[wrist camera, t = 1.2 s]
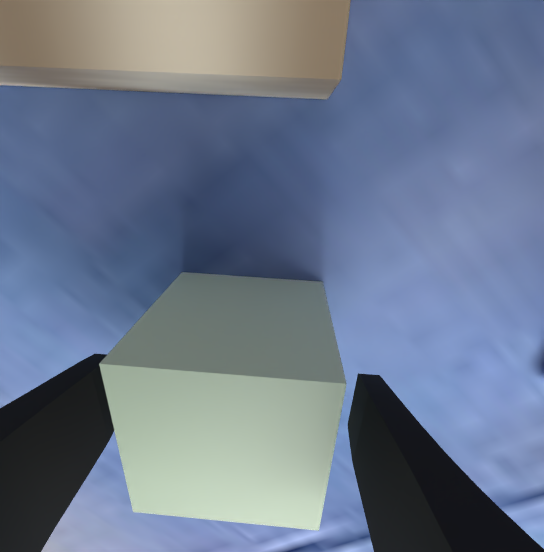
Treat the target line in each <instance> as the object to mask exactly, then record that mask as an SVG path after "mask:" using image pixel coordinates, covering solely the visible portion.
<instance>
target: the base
mask: <svg viewBox="0 0 544 552" xmlns="http://www.w3.org/2000/svg"><path fill="white" fill-rule="evenodd" d="M350 1H351V0H0V85H8V86H31V87H54V88H77V89H100V90H123V91H146V92H169V93H191V94H214V95H237V96H260V97H283V98H306V99H328V98H329V96H330V95H331V94H332V92H333V91H334V89H335V88H336V86H337V85H338V84H339V82H340V81H341V78H342V69H343V61H344V52H345V44H346V35H347V27H348V18H349V10H350Z"/></svg>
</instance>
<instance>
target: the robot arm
mask: <svg viewBox="0 0 544 552" xmlns="http://www.w3.org/2000/svg"><path fill="white" fill-rule="evenodd" d="M106 356H107V355H104V354H94V355H92V356H90V357H88V358H86V359H84V360H82V361H81V362H79V363H77V364H75V365H74V366H72V367H70V368H68V369H67V370H65V371H63V372H62V373H60V374H58V375H57V376H55V377H53V378H52V379H50V380H48V381H46V382H45V383H43V384H41V385H40V386H38V387H36V388H35V389H33V390H31V391H29V392H28V393H26V394H24V395H23V396H21V397H19V398H17V399H16V400H14V401H12V402H11V403H9V404H7V405H5V406H4V407H2V408H0V552H41V551H42V549H43V547H44V545H45V544H46V542H47V540H48V539H49V537H50V535H51V534H52V532H53V530H54V528H55V527H56V525H57V524H58V522H59V521H60V519H61V517H62V516H63V514H64V513H65V511H66V509H67V508H68V506H69V505H70V503H71V501H72V500H73V498H74V497H75V495H76V493H77V492H78V490H79V489H80V487H81V485H82V484H83V482H84V481H85V479H86V477H87V476H88V474H89V473H90V471H91V469H92V468H93V466H94V465H95V463H96V461H97V460H98V458H99V457H100V455H101V453H102V452H103V450H104V448H105V447H106V445H107V443H108V442H109V440H110V438H111V436H112V434H113V432H114V426H113V422H112V418H111V413H110V409H109V405H108V400H107V396H106V392H105V387H104V383H103V379H102V374H101V370H100V366H99V363H100V362H101V361H102V360H103V359H104V358H105V357H106ZM348 432H349V440H350V447H351V454H352V461H353V466H354V470H355V475H356V479H357V483H358V487H359V491H360V496H361V500H362V504H363V508H364V512H365V516H366V520H367V524H368V528H369V533H370V537H371V541H372V545H373V549H374V552H544V549H543V548H542V547H541V546H540V545H539V544H537V543H536V542H535V541H534V540H533V539H532V538H531V537H530V536H529V535H528V534H527V533H526V532H525V531H524V530H522V529H521V528H520V527H519V526H518V525H517V524H516V523H515V522H514V521H513V520H512V519H511V518H510V517H509V516H508V515H507V514H505V513H504V512H503V511H502V510H501V509H500V508H499V507H498V506H497V505H496V504H495V503H494V502H493V501H492V500H491V499H490V498H489V497H488V496H487V495H486V494H485V493H484V492H483V491H482V490H481V489H480V488H479V487H478V486H477V485H476V484H475V483H474V482H473V481H472V480H471V479H470V478H469V477H468V476H467V475H466V474H465V473H464V472H463V471H462V470H461V469H460V468H459V466H458V465H457V464H456V463H455V462H454V461H453V460H452V459H451V458H450V457H449V456H448V455H447V454H446V453H445V452H444V450H443V449H442V448H441V447H440V446H439V445H438V444H437V443H436V441H435V440H434V439H433V438H432V437H431V436H430V435H429V433H428V432H427V431H426V430H425V429H424V428H423V427H422V426H421V424H420V423H419V422H418V421H417V420H416V419H415V417H414V416H413V415H412V414H411V413H410V411H409V410H408V409H407V408H406V407H405V405H404V404H403V403H402V402H401V401H400V399H399V398H398V397H397V396H396V395H395V393H394V392H393V391H392V390H391V389H390V387H389V386H388V385H387V384H386V383H385V381H384V380H383V379H382V378H381V377H380V375H369V374H358V377H357V382H356V386H355V391H354V396H353V401H352V406H351V411H350V416H349V421H348Z"/></svg>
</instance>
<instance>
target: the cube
mask: <svg viewBox="0 0 544 552" xmlns="http://www.w3.org/2000/svg"><path fill="white" fill-rule="evenodd" d="M99 366H100V370H101V374H102V379H103V383H104V387H105V392H106V396H107V400H108V405H109V409H110V413H111V418H112V422H113V426H114V431H115V435H116V439H117V444H118V448H119V452H120V457H121V461H122V465H123V470H124V474H125V478H126V483H127V487H128V491H129V496H130V500H131V504H132V509H133V512H139V513H149V514H159V515H169V516H179V517H189V518H199V519H209V520H219V521H229V522H239V523H249V524H259V525H269V526H279V527H289V528H299V529H309V530H319V527H320V521H321V516H322V511H323V505H324V500H325V495H326V490H327V484H328V479H329V474H330V468H331V463H332V458H333V452H334V447H335V442H336V437H337V431H338V426H339V421H340V415H341V410H342V405H343V400H344V394H345V389H346V380H345V375H344V371H343V367H342V363H341V358H340V354H339V350H338V345H337V341H336V337H335V333H334V328H333V324H332V320H331V315H330V311H329V307H328V303H327V298H326V294H325V290H324V285H323V282H320V281H305V280H290V279H275V278H261V277H246V276H231V275H217V274H202V273H187V272H182V273H181V274H180V275H179V276H178V277H177V278H176V279H175V280H174V281H173V283H172V284H171V285H170V286H169V287H168V288H167V289H166V290H165V291H164V292H163V294H162V295H161V296H160V297H159V298H158V299H157V300H156V301H155V302H154V304H153V305H152V306H151V307H150V308H149V309H148V310H147V311H146V312H145V314H144V315H143V316H142V317H141V318H140V319H139V320H138V321H137V322H136V323H135V325H134V326H133V327H132V328H131V329H130V330H129V331H128V332H127V333H126V335H125V336H124V337H123V338H122V339H121V340H120V341H119V342H118V343H117V345H116V346H115V347H114V348H113V349H112V350H111V351H110V352H109V353H108V355H107V356H106V357H105V358H104V359H103V360H102V361H101V362H100V363H99Z"/></svg>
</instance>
